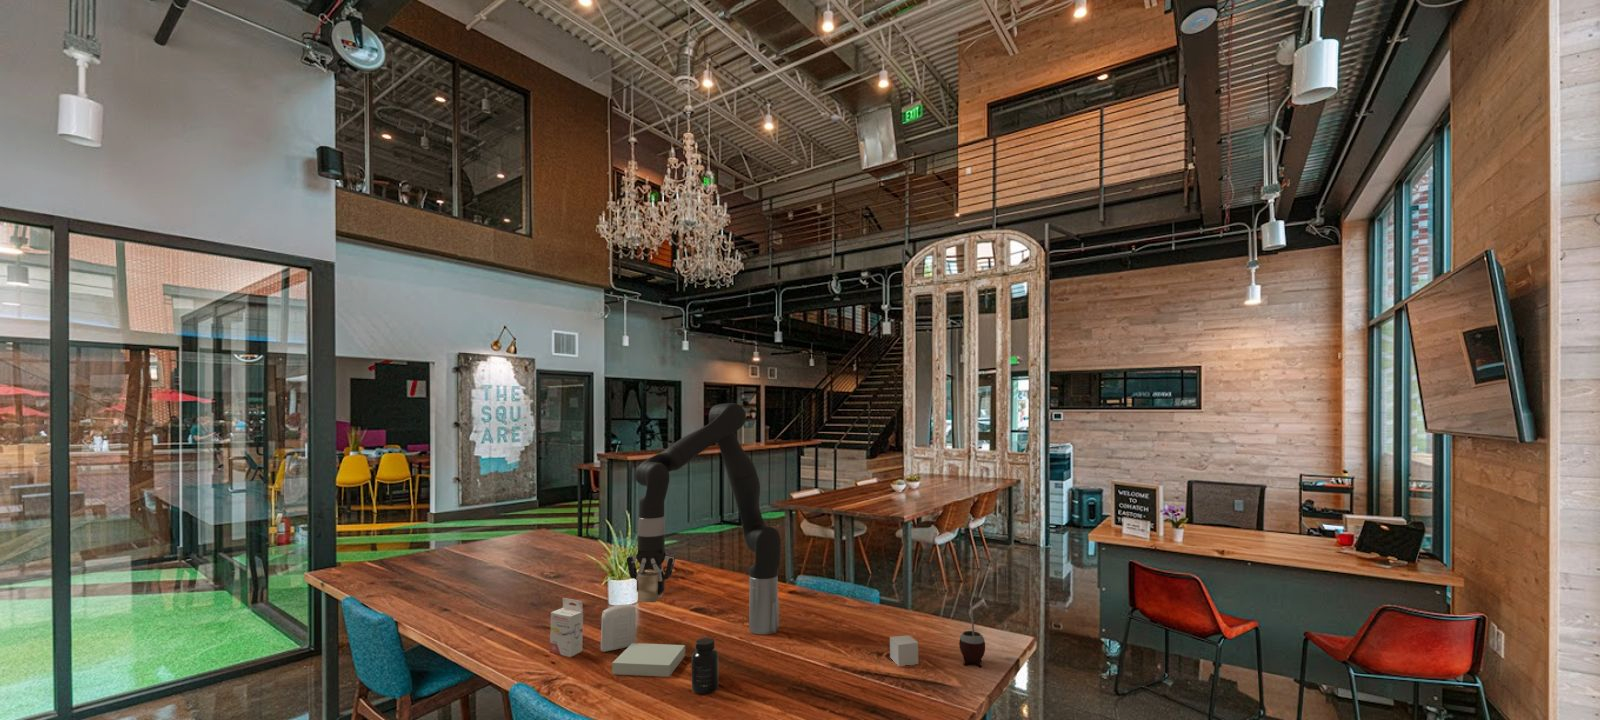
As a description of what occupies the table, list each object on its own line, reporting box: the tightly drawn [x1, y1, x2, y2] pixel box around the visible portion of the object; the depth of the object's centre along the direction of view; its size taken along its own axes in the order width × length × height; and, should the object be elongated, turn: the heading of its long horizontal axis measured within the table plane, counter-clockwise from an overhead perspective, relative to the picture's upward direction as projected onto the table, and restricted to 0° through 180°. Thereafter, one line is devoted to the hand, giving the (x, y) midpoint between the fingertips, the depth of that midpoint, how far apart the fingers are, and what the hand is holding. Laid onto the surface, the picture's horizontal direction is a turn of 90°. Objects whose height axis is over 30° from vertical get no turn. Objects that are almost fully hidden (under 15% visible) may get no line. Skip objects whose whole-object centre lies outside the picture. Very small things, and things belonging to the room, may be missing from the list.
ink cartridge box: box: [549, 597, 584, 658], centre depth 183 cm, size 9×5×15 cm, turn 65°
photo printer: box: [600, 603, 637, 653], centre depth 187 cm, size 10×4×12 cm, turn 123°
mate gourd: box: [958, 602, 986, 669], centre depth 174 cm, size 8×8×15 cm
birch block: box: [637, 570, 664, 603], centre depth 175 cm, size 5×6×7 cm
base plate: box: [611, 642, 686, 678], centre depth 174 cm, size 16×14×3 cm
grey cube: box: [889, 634, 919, 667], centre depth 175 cm, size 6×6×6 cm
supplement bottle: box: [691, 637, 719, 695], centre depth 159 cm, size 7×7×12 cm
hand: (650, 593), depth 175 cm, fingers closed on birch block, 5 cm apart
